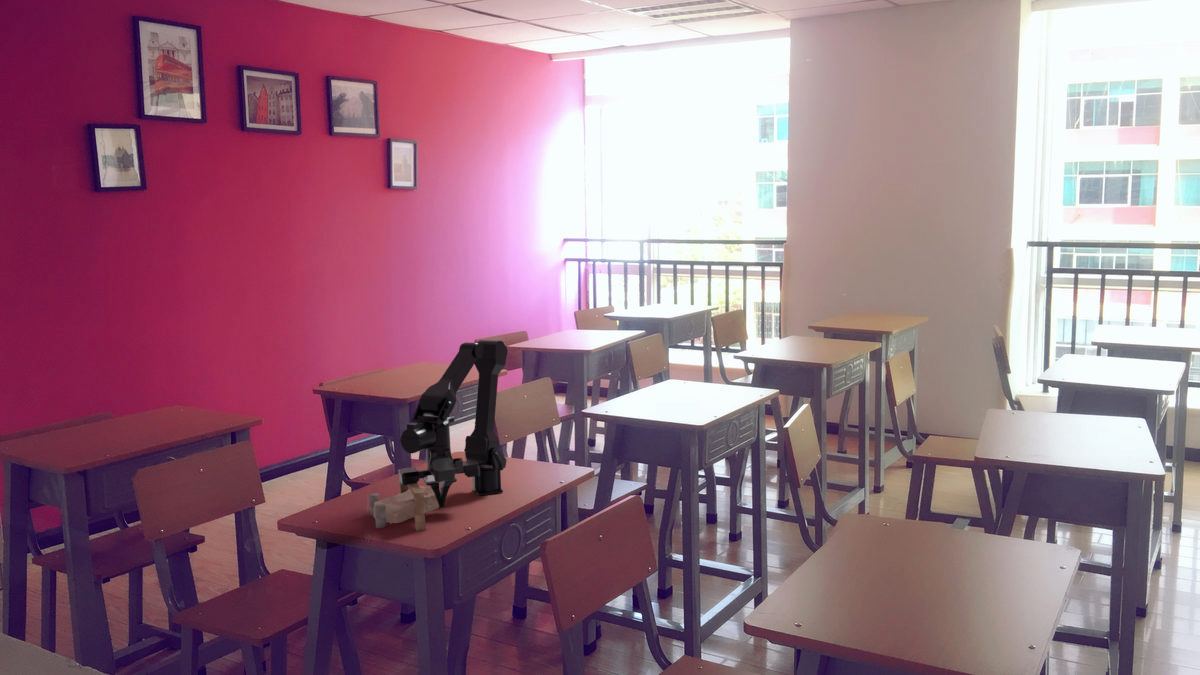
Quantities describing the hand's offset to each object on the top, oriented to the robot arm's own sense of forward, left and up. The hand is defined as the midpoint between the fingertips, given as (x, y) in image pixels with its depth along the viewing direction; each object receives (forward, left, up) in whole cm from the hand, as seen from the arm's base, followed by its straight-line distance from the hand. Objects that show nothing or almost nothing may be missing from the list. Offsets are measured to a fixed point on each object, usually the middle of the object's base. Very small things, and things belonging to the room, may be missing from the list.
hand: (441, 507), depth 226 cm
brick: (+7, -3, -2) cm, 8 cm away
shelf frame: (+11, 0, -1) cm, 11 cm away
